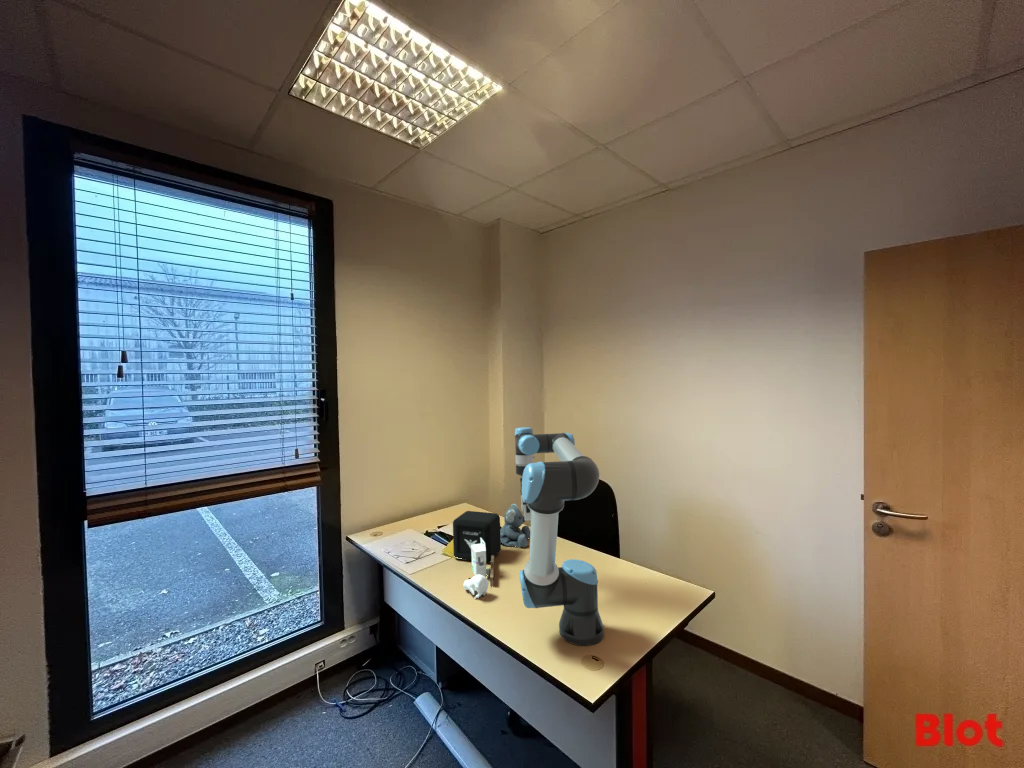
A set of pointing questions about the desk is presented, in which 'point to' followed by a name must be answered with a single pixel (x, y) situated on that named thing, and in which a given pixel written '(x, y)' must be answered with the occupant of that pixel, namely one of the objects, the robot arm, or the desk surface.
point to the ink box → (479, 558)
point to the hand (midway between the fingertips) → (526, 515)
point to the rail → (492, 570)
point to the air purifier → (476, 534)
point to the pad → (487, 572)
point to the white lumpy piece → (477, 585)
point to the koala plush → (514, 528)
